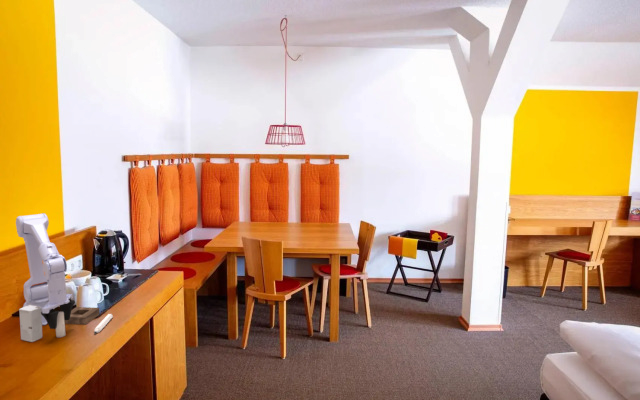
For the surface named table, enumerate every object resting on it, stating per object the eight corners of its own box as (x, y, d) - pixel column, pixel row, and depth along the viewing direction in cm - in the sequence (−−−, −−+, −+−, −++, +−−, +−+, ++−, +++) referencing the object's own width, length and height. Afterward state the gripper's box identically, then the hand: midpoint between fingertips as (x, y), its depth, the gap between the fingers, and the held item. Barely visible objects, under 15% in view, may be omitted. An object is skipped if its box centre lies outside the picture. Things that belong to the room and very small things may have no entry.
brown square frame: (61, 323, 173) (61, 316, 172) (76, 313, 183) (76, 307, 182) (85, 324, 172) (85, 317, 172) (99, 314, 182) (99, 307, 182)
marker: (94, 338, 163) (109, 320, 179) (98, 335, 163) (113, 317, 179) (89, 332, 162) (105, 315, 178) (94, 329, 163) (110, 312, 178)
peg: (54, 337, 161) (52, 314, 160) (59, 333, 164) (57, 311, 163) (62, 337, 161) (60, 314, 160) (67, 334, 164) (65, 311, 163)
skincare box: (20, 340, 159) (17, 308, 157) (31, 334, 163) (28, 304, 161) (33, 342, 157) (30, 311, 155) (44, 337, 161) (41, 306, 160)
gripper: (54, 296, 153) (57, 332, 154) (79, 283, 167) (81, 316, 169) (35, 296, 153) (38, 332, 155) (61, 282, 167) (64, 315, 169)
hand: (60, 324), depth 162 cm, fingers open, 7 cm apart
